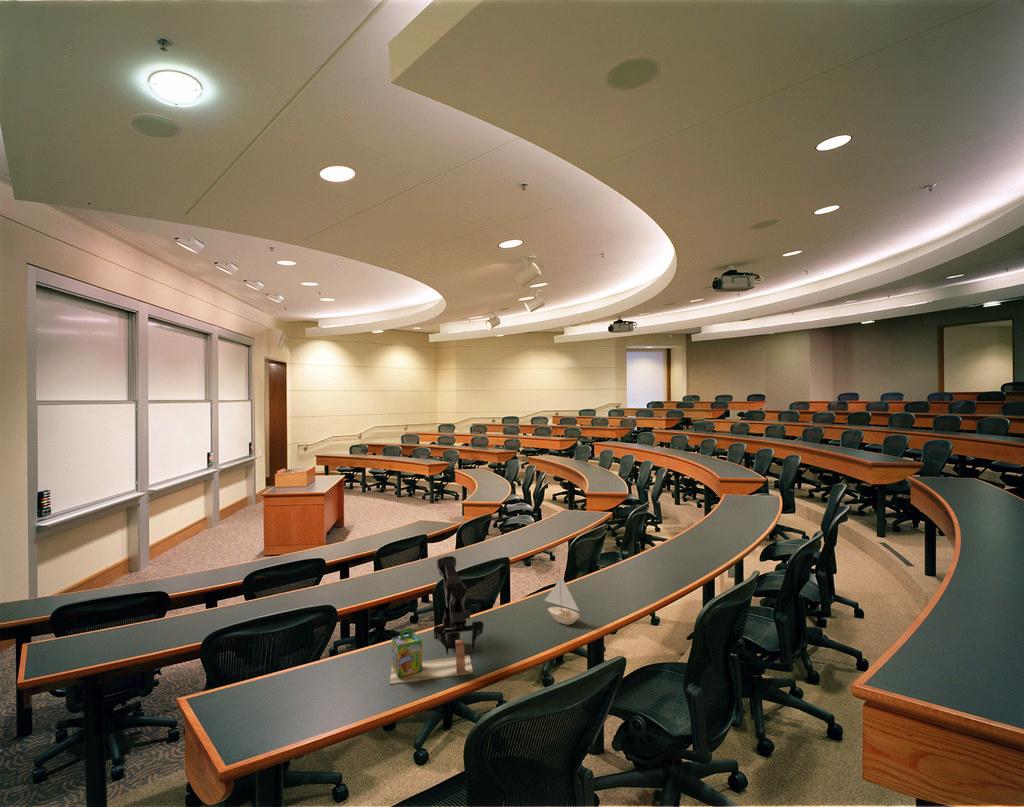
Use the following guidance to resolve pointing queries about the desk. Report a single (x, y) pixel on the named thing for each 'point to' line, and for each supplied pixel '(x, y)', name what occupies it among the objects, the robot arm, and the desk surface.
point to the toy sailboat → (562, 603)
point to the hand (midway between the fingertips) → (460, 653)
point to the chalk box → (407, 653)
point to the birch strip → (439, 667)
